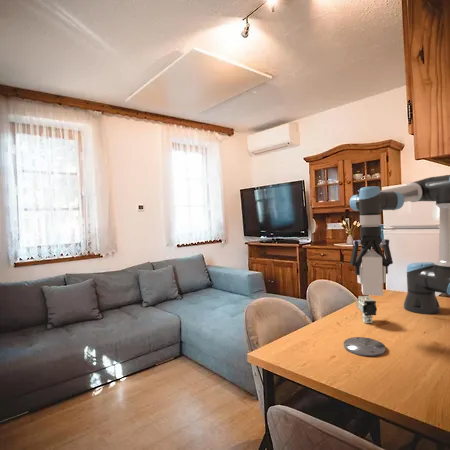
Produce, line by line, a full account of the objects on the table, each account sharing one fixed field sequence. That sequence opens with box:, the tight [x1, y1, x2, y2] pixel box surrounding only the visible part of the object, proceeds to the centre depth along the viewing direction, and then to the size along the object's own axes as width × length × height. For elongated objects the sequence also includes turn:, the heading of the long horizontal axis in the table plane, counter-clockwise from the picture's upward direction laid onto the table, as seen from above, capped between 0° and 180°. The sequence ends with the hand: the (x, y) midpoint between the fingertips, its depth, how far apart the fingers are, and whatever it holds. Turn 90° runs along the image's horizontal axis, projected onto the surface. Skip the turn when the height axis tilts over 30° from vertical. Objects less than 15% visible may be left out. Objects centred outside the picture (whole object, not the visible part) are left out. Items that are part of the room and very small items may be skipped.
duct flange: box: [343, 336, 386, 358], centre depth 116 cm, size 14×14×1 cm
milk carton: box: [360, 246, 384, 297], centre depth 124 cm, size 7×7×19 cm
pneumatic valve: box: [356, 295, 378, 325], centre depth 141 cm, size 6×12×12 cm, turn 174°
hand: (371, 282), depth 125 cm, fingers closed on milk carton, 9 cm apart
